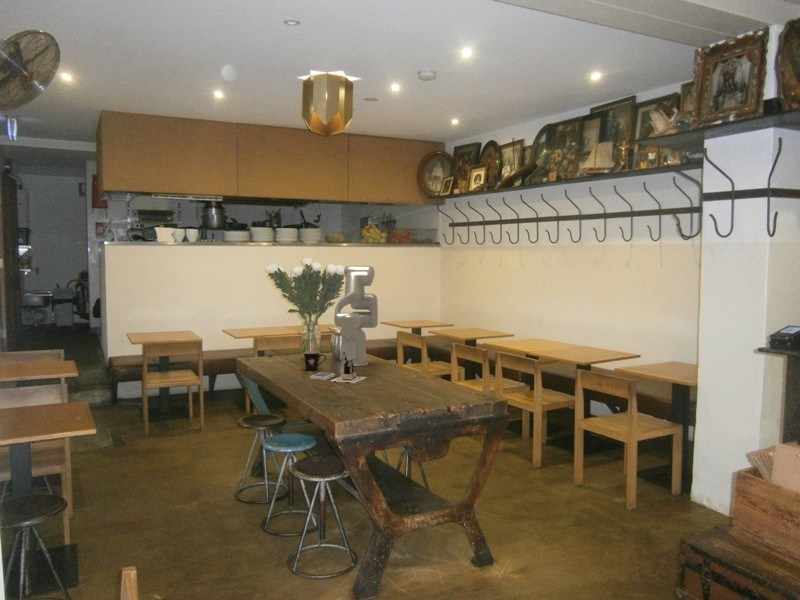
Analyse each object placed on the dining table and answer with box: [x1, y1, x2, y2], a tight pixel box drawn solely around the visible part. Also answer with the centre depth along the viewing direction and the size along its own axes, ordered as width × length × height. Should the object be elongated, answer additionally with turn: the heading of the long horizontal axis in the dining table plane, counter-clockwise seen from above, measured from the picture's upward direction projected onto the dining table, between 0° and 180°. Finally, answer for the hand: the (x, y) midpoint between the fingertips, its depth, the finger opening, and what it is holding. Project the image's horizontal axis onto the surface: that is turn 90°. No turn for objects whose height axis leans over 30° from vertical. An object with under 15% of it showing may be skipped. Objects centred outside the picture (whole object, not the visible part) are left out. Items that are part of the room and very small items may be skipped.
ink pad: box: [309, 372, 336, 381], centre depth 330 cm, size 11×9×2 cm
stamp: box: [340, 359, 357, 380], centre depth 325 cm, size 6×5×12 cm
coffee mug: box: [303, 350, 327, 372], centre depth 350 cm, size 12×9×10 cm
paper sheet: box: [330, 375, 368, 384], centre depth 326 cm, size 15×14×1 cm
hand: (348, 372), depth 325 cm, fingers closed on stamp, 3 cm apart
